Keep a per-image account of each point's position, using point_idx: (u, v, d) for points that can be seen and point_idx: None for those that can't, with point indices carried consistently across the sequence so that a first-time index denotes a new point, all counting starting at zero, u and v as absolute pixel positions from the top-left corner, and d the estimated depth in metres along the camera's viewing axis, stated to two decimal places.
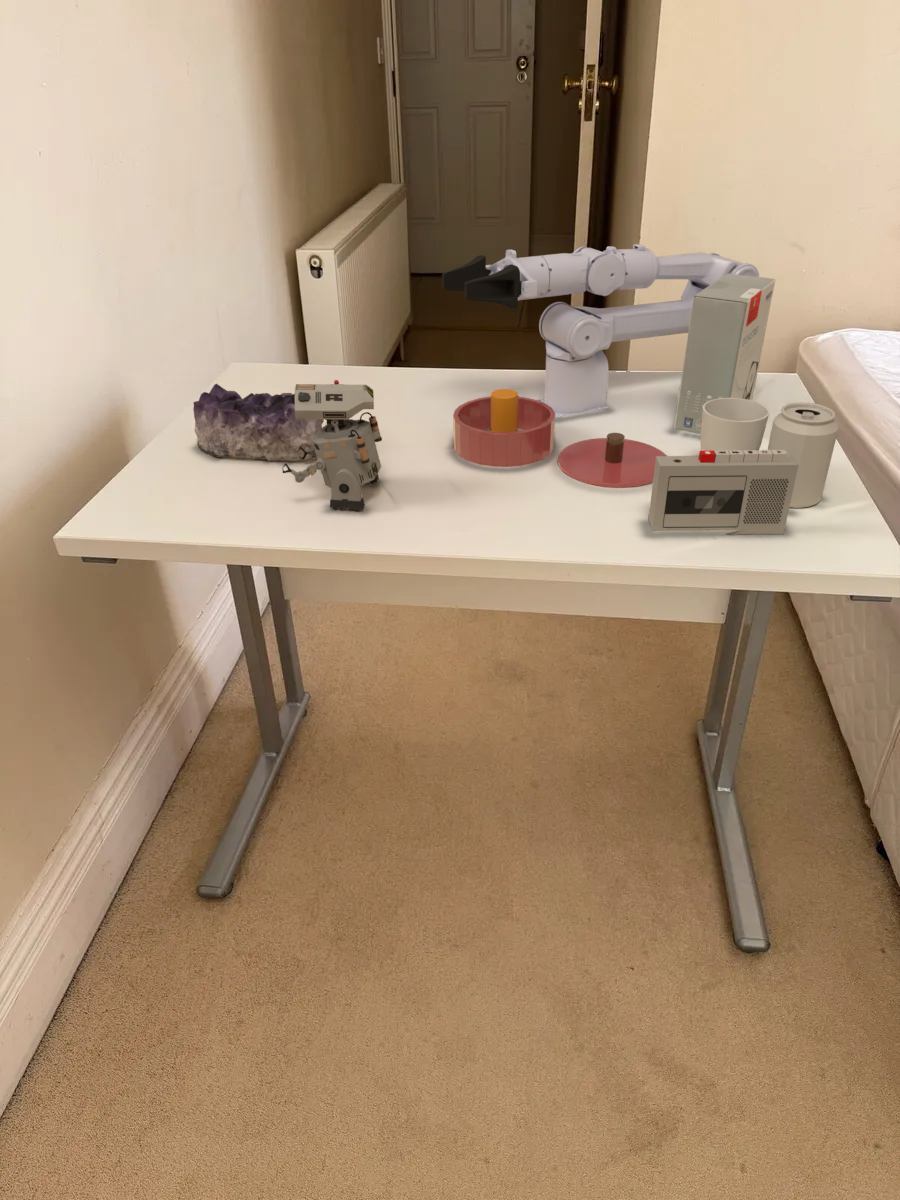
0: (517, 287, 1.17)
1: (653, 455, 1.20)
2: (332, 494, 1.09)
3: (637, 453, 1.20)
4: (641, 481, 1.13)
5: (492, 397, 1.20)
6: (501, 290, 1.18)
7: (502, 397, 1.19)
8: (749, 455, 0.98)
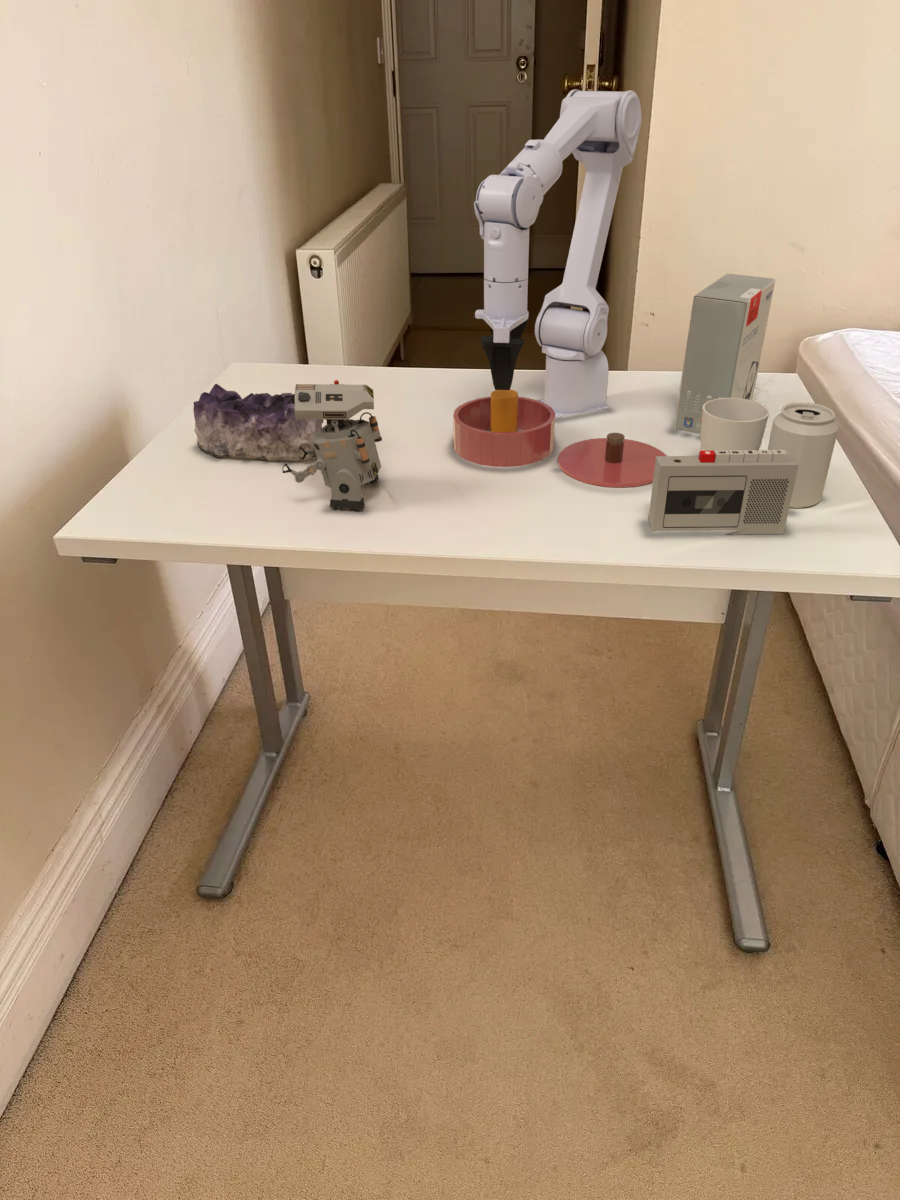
0: (500, 344, 1.11)
1: (653, 455, 1.20)
2: (332, 494, 1.09)
3: (637, 453, 1.20)
4: (641, 481, 1.13)
5: (492, 397, 1.20)
6: (505, 351, 1.13)
7: (502, 397, 1.19)
8: (749, 455, 0.98)
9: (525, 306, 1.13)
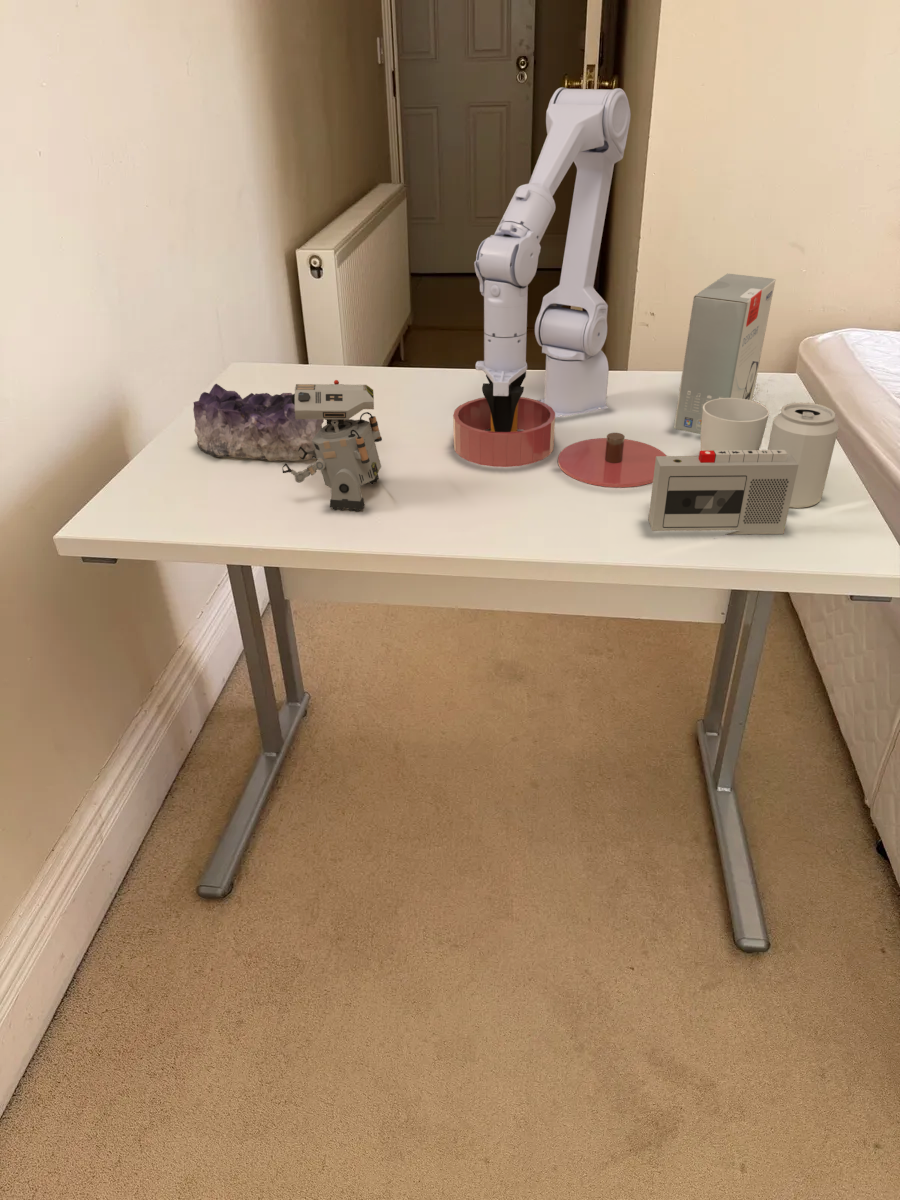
0: None
1: (653, 455, 1.20)
2: (332, 494, 1.09)
3: (637, 453, 1.20)
4: (641, 481, 1.13)
5: None
6: (505, 398, 1.18)
7: None
8: (749, 455, 0.98)
9: (524, 359, 1.16)
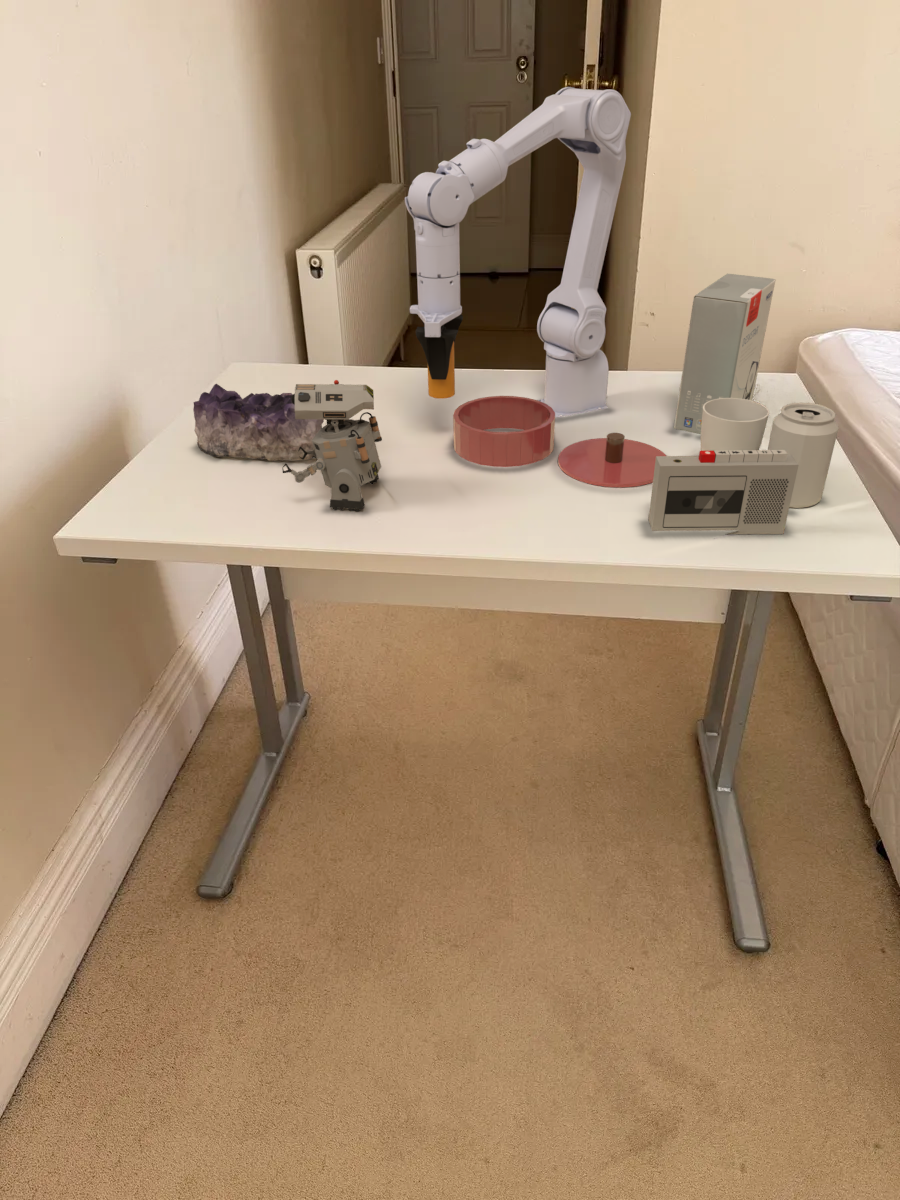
0: None
1: (653, 455, 1.20)
2: (332, 494, 1.09)
3: (637, 453, 1.20)
4: (641, 481, 1.13)
5: None
6: (440, 342, 1.17)
7: None
8: (749, 455, 0.98)
9: (458, 301, 1.15)
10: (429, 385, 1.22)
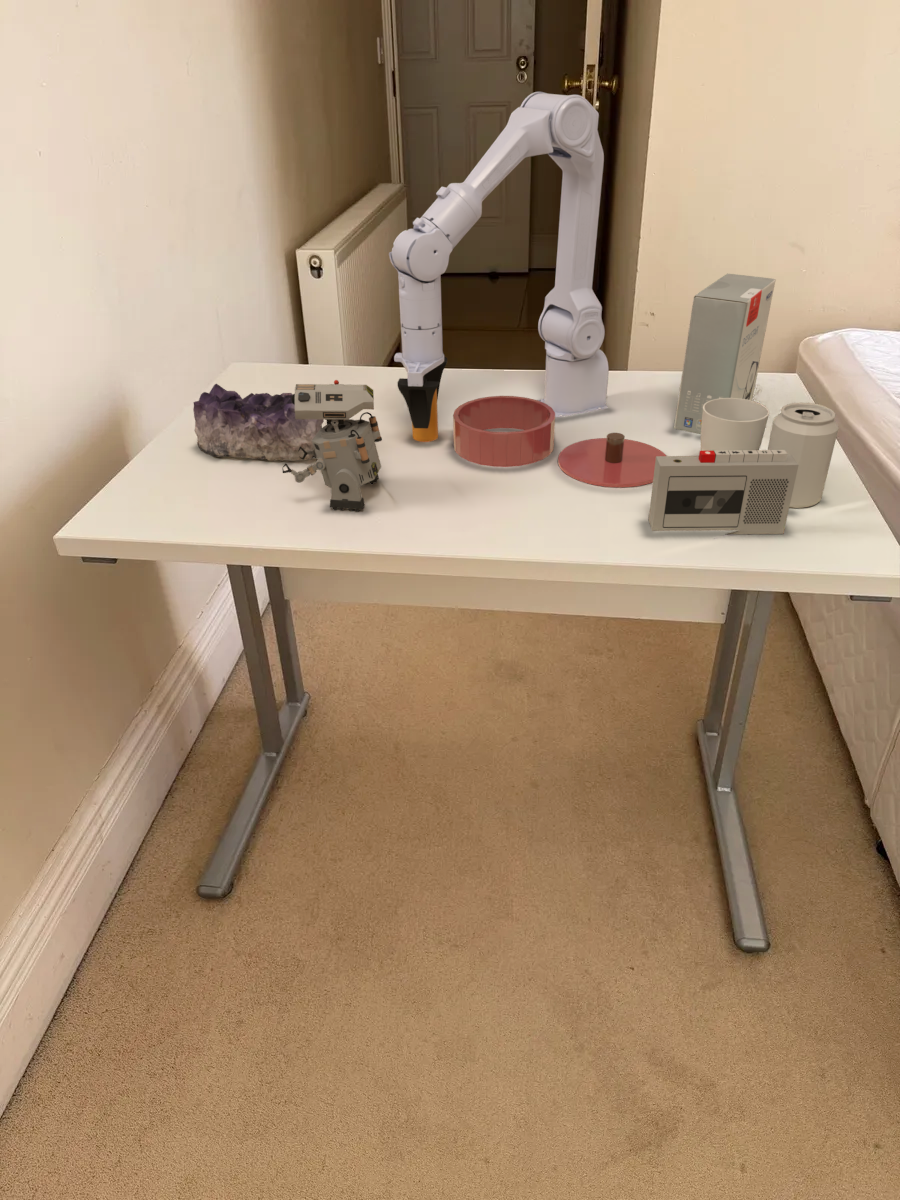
0: (415, 387, 1.18)
1: (653, 455, 1.20)
2: (332, 494, 1.09)
3: (637, 453, 1.20)
4: (641, 481, 1.13)
5: None
6: (421, 393, 1.20)
7: None
8: (749, 455, 0.98)
9: (440, 350, 1.20)
10: (413, 432, 1.27)
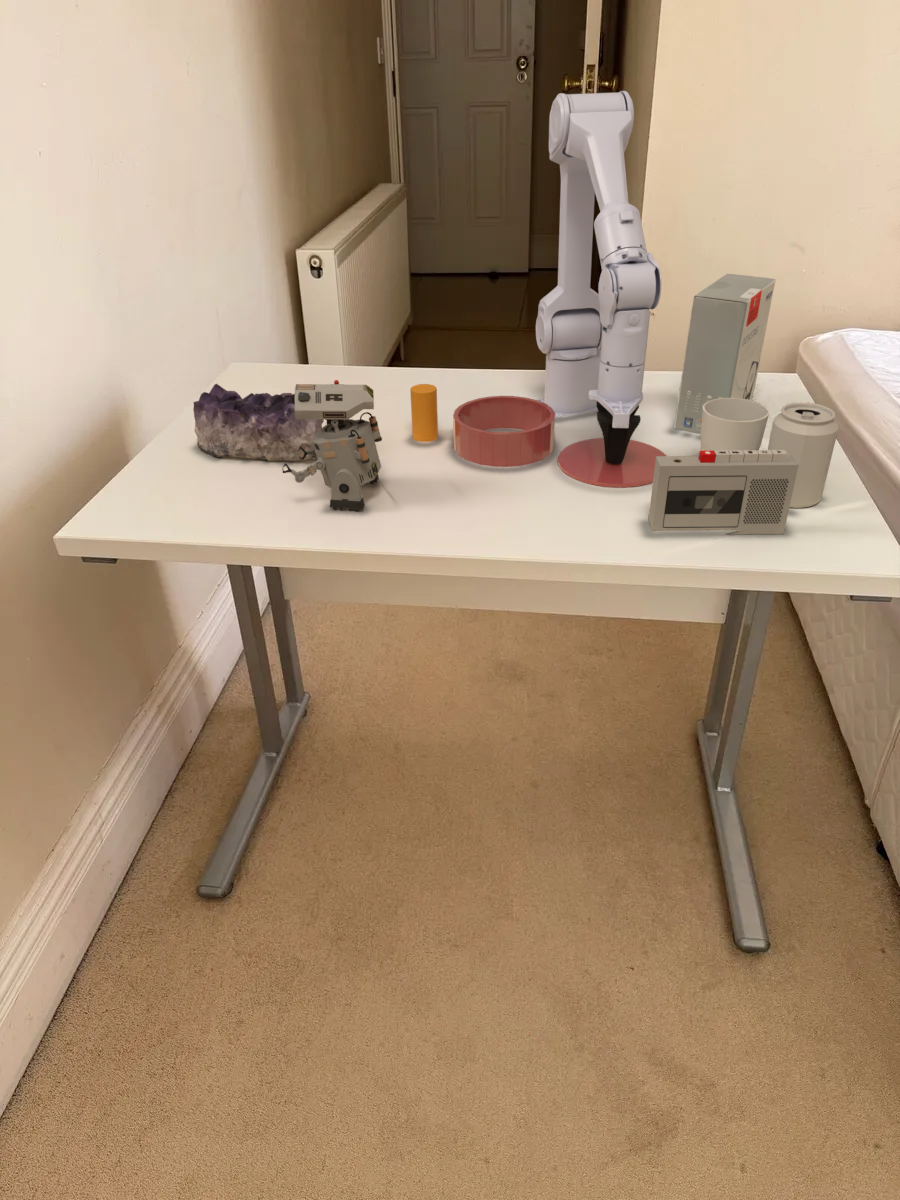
0: None
1: (653, 455, 1.20)
2: (332, 494, 1.09)
3: (637, 453, 1.20)
4: (641, 481, 1.13)
5: (411, 392, 1.23)
6: (620, 427, 1.14)
7: (420, 392, 1.23)
8: (749, 455, 0.98)
9: (641, 388, 1.12)
10: (413, 432, 1.27)
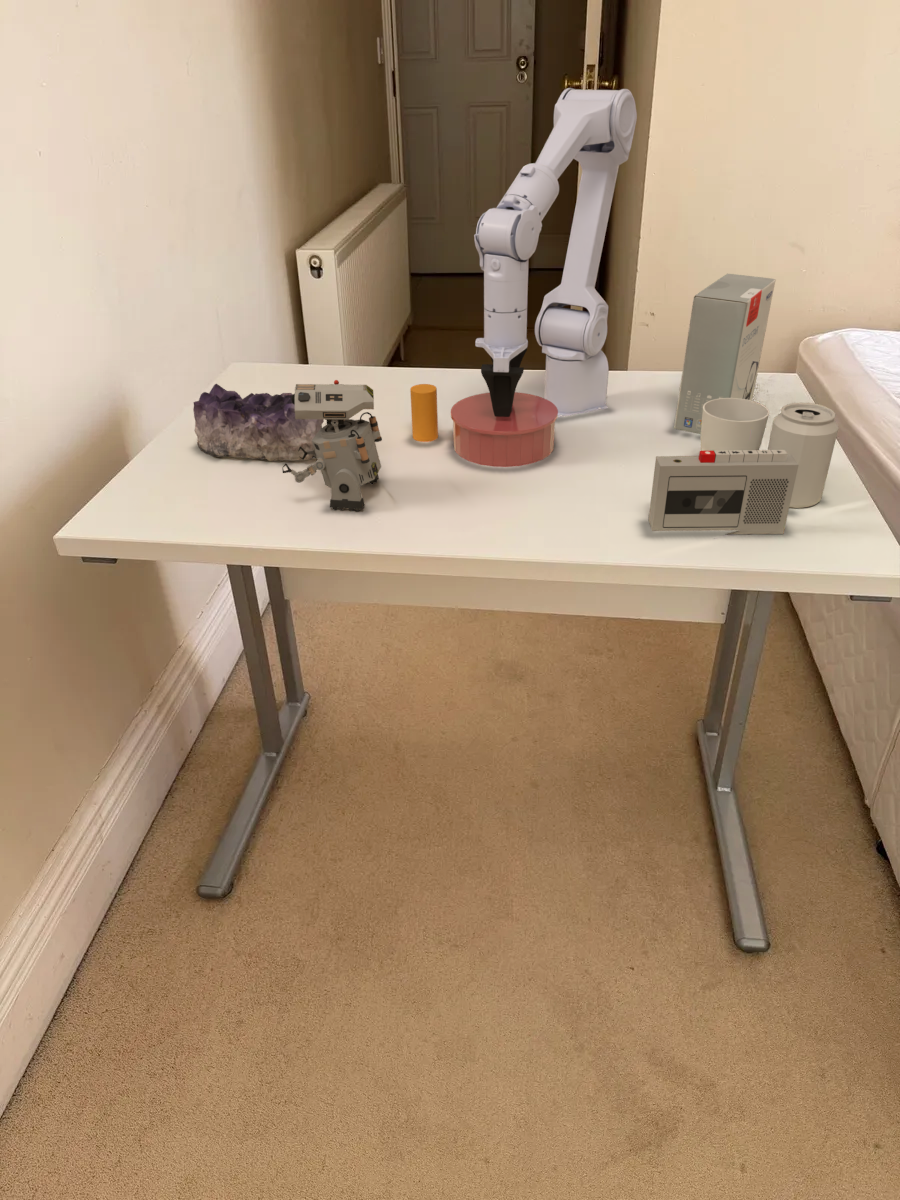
0: (499, 373, 1.13)
1: (543, 406, 1.23)
2: (332, 494, 1.09)
3: (528, 405, 1.23)
4: (525, 429, 1.16)
5: (411, 392, 1.23)
6: (505, 380, 1.15)
7: (420, 392, 1.23)
8: (749, 455, 0.98)
9: (524, 335, 1.15)
10: (413, 432, 1.27)
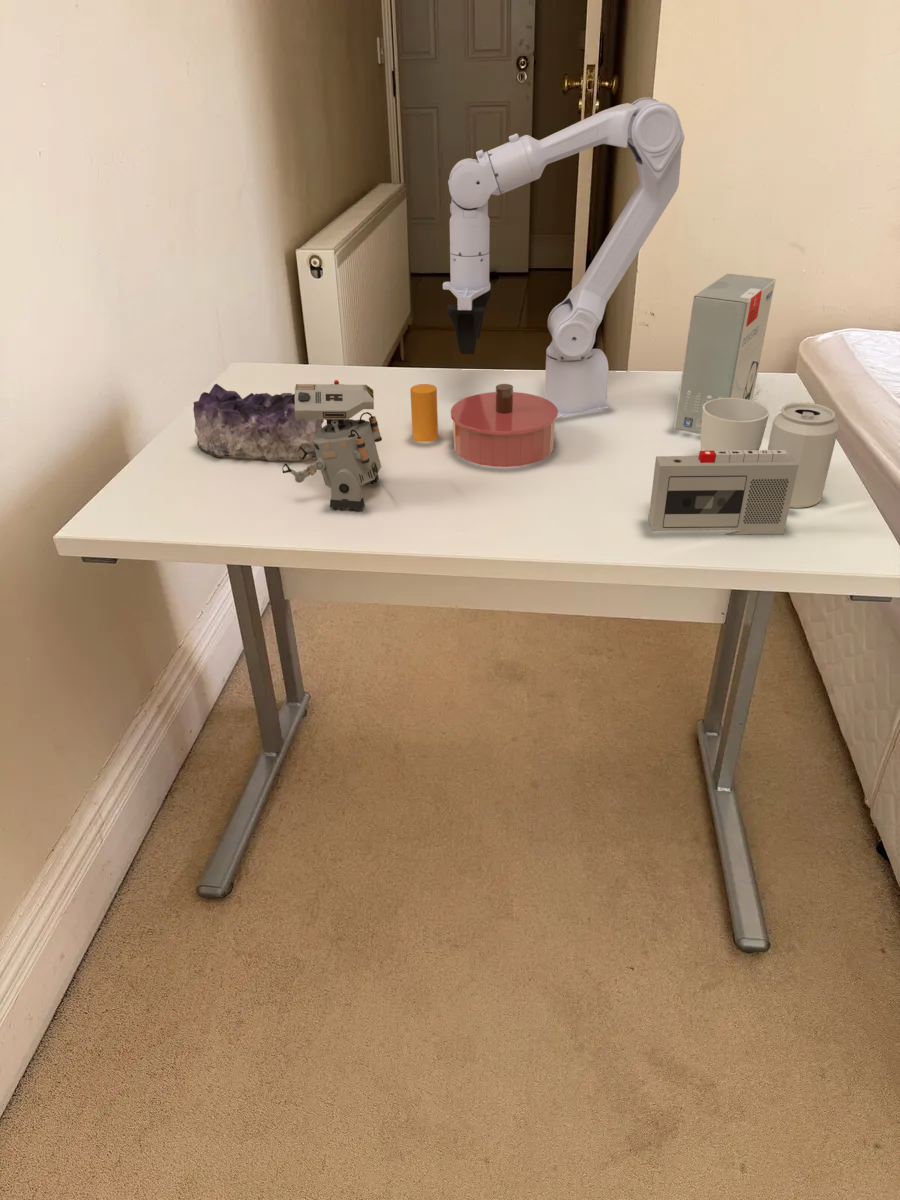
0: (464, 311, 1.24)
1: (543, 406, 1.23)
2: (332, 494, 1.09)
3: (528, 405, 1.23)
4: (525, 429, 1.16)
5: (411, 392, 1.23)
6: (469, 319, 1.26)
7: (420, 392, 1.23)
8: (749, 455, 0.98)
9: (487, 278, 1.26)
10: (413, 432, 1.27)
